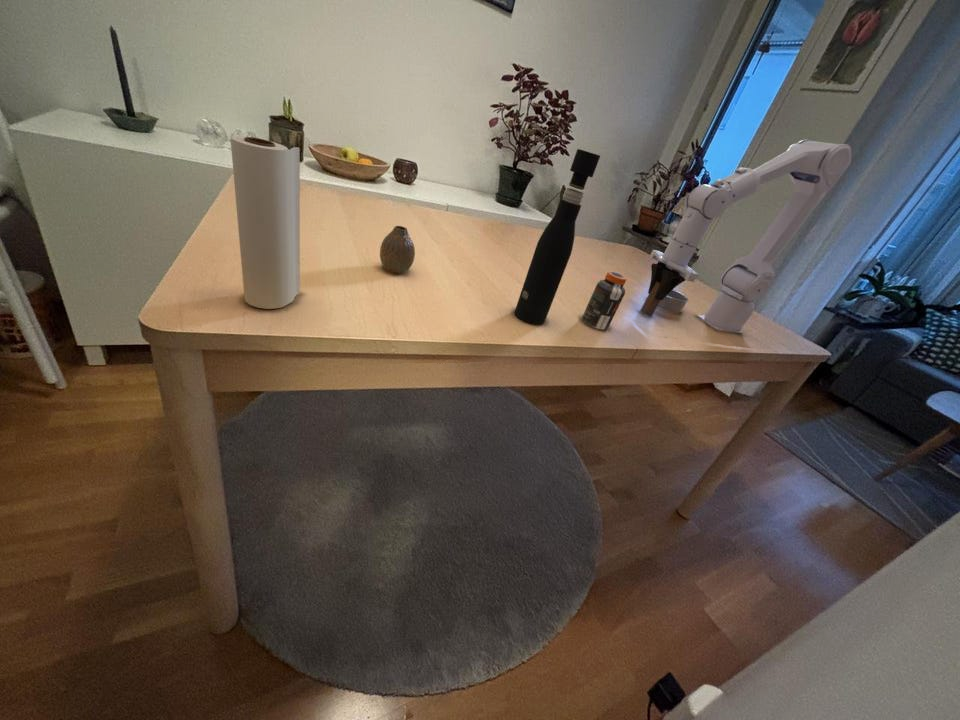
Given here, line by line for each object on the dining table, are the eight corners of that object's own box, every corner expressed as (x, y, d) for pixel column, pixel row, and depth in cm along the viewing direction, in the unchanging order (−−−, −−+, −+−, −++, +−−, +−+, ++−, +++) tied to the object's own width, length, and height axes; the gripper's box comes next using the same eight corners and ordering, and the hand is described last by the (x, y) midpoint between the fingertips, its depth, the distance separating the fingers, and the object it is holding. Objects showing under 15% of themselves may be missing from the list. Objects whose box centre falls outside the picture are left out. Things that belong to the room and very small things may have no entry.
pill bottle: (609, 333, 79) (634, 283, 73) (582, 324, 79) (604, 274, 74) (606, 322, 84) (629, 274, 78) (581, 313, 85) (602, 265, 79)
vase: (418, 273, 80) (425, 232, 76) (396, 279, 75) (402, 235, 70) (394, 261, 83) (399, 220, 78) (370, 265, 77) (375, 222, 73)
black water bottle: (548, 318, 78) (610, 158, 62) (539, 328, 73) (605, 157, 57) (520, 306, 79) (574, 147, 64) (509, 315, 74) (565, 145, 58)
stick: (646, 312, 97) (663, 282, 92) (651, 316, 95) (668, 285, 90) (639, 311, 96) (656, 280, 91) (644, 315, 94) (661, 284, 90)
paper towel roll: (241, 308, 53) (225, 137, 42) (247, 289, 58) (234, 131, 46) (298, 312, 56) (297, 153, 45) (299, 294, 61) (299, 145, 49)
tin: (666, 300, 111) (673, 288, 109) (687, 316, 103) (695, 302, 101) (640, 296, 108) (647, 283, 106) (660, 311, 100) (668, 298, 98)
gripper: (651, 229, 90) (626, 282, 97) (692, 250, 79) (659, 308, 86) (674, 235, 92) (648, 286, 100) (717, 256, 81) (683, 312, 88)
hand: (654, 296), depth 93 cm, fingers closed on stick, 2 cm apart
